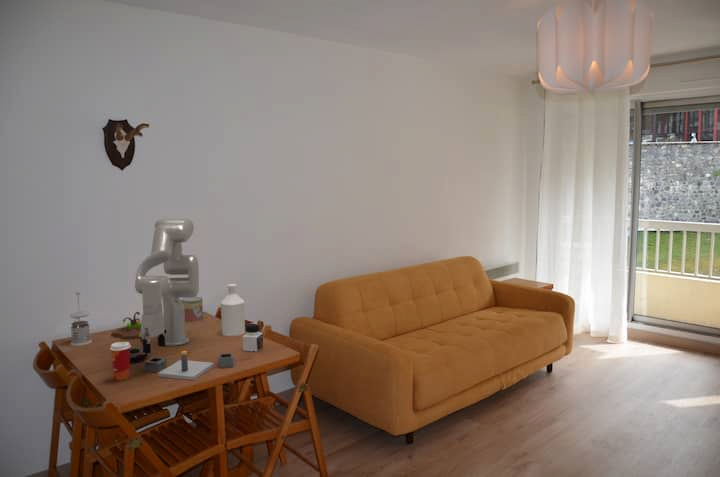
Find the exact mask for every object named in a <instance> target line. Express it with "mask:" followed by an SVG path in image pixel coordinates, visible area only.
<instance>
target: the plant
mask: <svg viewBox="0 0 720 477" xmlns="http://www.w3.org/2000/svg"><path fill="white" fill-rule="evenodd" d="M136 315H141V312H140V311H136V312H134V314H133V318H131V317H125V318H123V319H122V322H123V324H124V325H125V326H123V327H118V328H116V329H114V330H112V331H111V336H112V338H117V339H121V340H125V341H126V340H129V341H130V340H138V339H140V338H139V335H140V334H141V319H140V318H137V317H136ZM127 319H128V320H129V321H128V323H127V322H126V320H127Z"/></svg>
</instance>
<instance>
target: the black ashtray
mask: <svg viewBox="0 0 720 477" xmlns="http://www.w3.org/2000/svg"><path fill="white" fill-rule="evenodd" d="M147 356H148V353H143V347H134V348H133V347H132V348H131V347H130V364H134V363H135V364H136V363H139V362H143V361H144V360H146V358H147Z"/></svg>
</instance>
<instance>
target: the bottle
mask: <svg viewBox="0 0 720 477" xmlns="http://www.w3.org/2000/svg"><path fill="white" fill-rule="evenodd" d="M237 287H238V285H237V284H235V283H231V284H227V290H228V291H227V292H228V294H227V295H226V296H225V297H224V299H222V300H221V302H220V315H221V317H220V318H221V334H222V336H226V337H238V336H243V335H245V334H246V321H245V320H246V317H245V314H246V312H245V311H246V310H245V307H246V306H245V303H246V302H245V300H244V299H243V298H242V297H240V295H239V294H238V293H237Z"/></svg>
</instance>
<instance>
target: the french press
mask: <svg viewBox="0 0 720 477" xmlns="http://www.w3.org/2000/svg"><path fill="white" fill-rule="evenodd" d="M75 295H76V296H77V304H78V307H80V299H79V295H81V292H79V291H76V292H75ZM88 316H89V312H86V311H83V310H78V311H74V312H73V313H72V314H70V315H69V317H70V318H73V319H74V321H73V322H72V323H71V326H70V329H71V331H70V332H71V334H70V335H71V342H70V343H69V345H70V346H77V347H78V346H85V345H88V344H92V343H93V339H91V337H90V324H88V323H89V322H88V320H87V321H86V320H81V318H85V317H88ZM75 320H77V321H75Z"/></svg>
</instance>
